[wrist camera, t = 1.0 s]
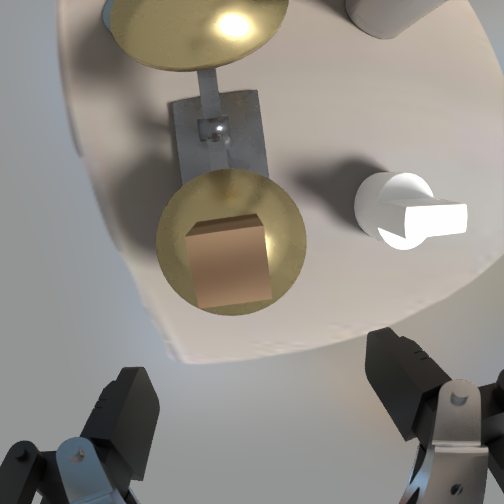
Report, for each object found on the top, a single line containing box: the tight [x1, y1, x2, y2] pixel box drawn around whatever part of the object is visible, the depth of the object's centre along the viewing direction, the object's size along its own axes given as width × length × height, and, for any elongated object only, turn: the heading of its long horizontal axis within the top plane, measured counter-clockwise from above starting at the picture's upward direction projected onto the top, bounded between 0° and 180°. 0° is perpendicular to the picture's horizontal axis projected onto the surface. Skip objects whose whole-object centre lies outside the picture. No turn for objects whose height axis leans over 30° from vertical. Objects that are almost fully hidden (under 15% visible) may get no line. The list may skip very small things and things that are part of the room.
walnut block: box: [185, 213, 272, 308], centre depth 21 cm, size 5×5×6 cm
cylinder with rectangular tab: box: [354, 172, 467, 250], centre depth 29 cm, size 9×9×12 cm
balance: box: [110, 0, 306, 316], centre depth 24 cm, size 33×13×16 cm, turn 7°
